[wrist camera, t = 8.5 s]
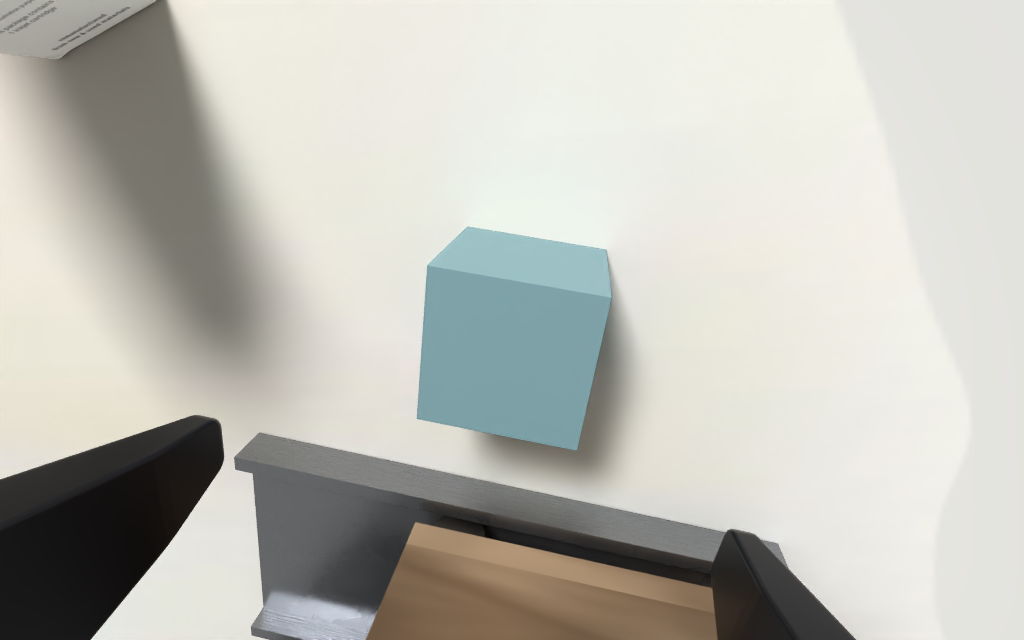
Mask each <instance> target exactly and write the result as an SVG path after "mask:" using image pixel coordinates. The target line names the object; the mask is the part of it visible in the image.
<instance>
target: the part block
mask: <svg viewBox="0 0 1024 640" xmlns="http://www.w3.org/2000/svg"><path fill="white" fill-rule="evenodd" d="M611 299H612V295H611V286H610V278H609V269H608V260H607V252H606V250H605V249H599V248H593V247H587V246H581V245H575V244H569V243H563V242H557V241H551V240H545V239H539V238H533V237H527V236H521V235H515V234H509V233H503V232H497V231H491V230H485V229H479V228H474V227H467V228H465V229H464V230H463V231H462V232H461V233H460V234H459V235H458V236H457V237H456V238H455V239H454V240H453V241H452V242H451V243H450V244H449V245H448V246H447V247H446V248H445V249H444V250H443V251H442V252H441V253H440V254H439V255H438V256H437V257H436V258H435V259H434V260H432V261H431V262H430V263H429V264H428V265H427V277H426V292H425V307H424V321H423V336H422V350H421V365H420V380H419V394H418V409H417V419H420V420H425V421H430V422H435V423H440V424H445V425H450V426H455V427H460V428H465V429H470V430H475V431H480V432H485V433H490V434H495V435H500V436H505V437H511V438H516V439H521V440H526V441H531V442H536V443H541V444H546V445H551V446H556V447H561V448H566V449H571V450H576V451H577V448H578V444H579V439H580V435H581V430H582V426H583V422H584V417H585V413H586V408H587V404H588V400H589V395H590V391H591V387H592V382H593V378H594V373H595V369H596V365H597V360H598V356H599V352H600V347H601V343H602V338H603V334H604V330H605V325H606V321H607V316H608V312H609V308H610V303H611Z"/></svg>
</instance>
